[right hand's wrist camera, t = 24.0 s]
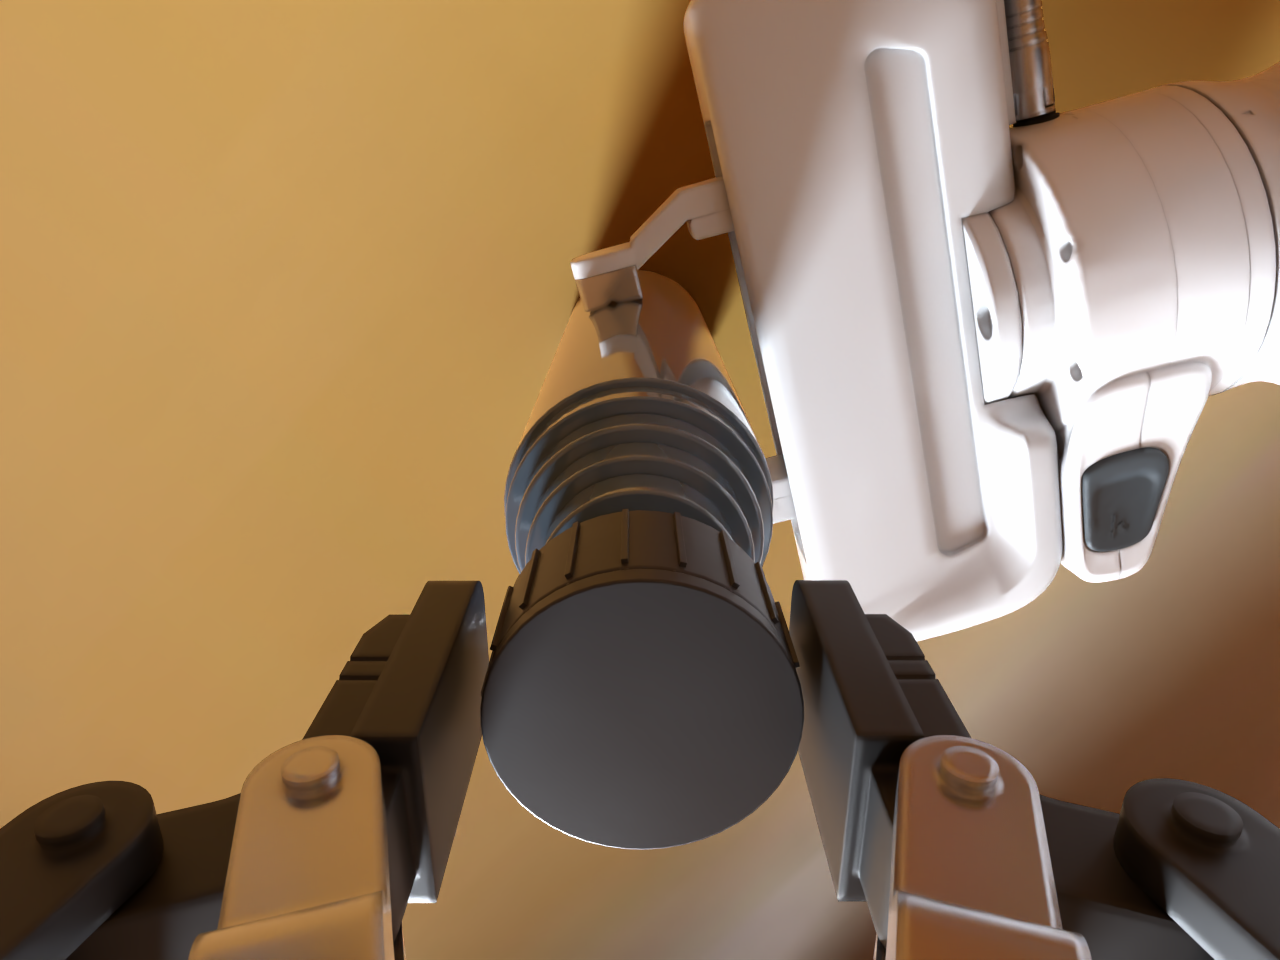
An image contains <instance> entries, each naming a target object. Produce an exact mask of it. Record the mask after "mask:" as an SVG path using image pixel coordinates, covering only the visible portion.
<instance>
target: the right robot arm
mask: <svg viewBox="0 0 1280 960" xmlns="http://www.w3.org/2000/svg"><path fill="white" fill-rule="evenodd" d="M789 633H790V637H791V640H792V643H793V646H794V649H795V652H796V655H797V658H798V661H799V664H800V667H797V668H796V671H797V674H798V677H799V680H800V684H801V689H802V694H803V700H804V724H803V731H802V737H801V741H800V744H799V747H798V752H799V756H800V760H801V763H802V767H803V771H804V775H805V778H806V782H807V786H808V790H809V793H810V797H811V801H812V805H813V808H814V812H815V816H816V820H817V823H818V827H819V831H820V835H821V838H822V842H823V846H824V850H825V853H826V857H827V861H828V865H829V868H830V872H831V876H832V880H833V883H834V887H835V891H836V895H837V899H838V901H867V904H868V908H869V911H870V914H871V918H872V921H873V924H874V927H875V930H876V933H877V935H876V942H875V949H874V960H1280V829H1279V828H1278V827H1276V826H1275V825H1274V824H1272V823H1271V822H1270V821H1268V820H1267V819H1266V818H1264V817H1263V816H1262V815H1260V814H1259V813H1258V812H1256V811H1255V810H1253V809H1252V808H1250V807H1249V806H1247V805H1246V804H1244V803H1242V802H1240V801H1239V800H1237V799H1235V798H1233V797H1231V796H1229V795H1227V794H1225V793H1223V792H1220V791H1218V790H1215V789H1213V788H1210V787H1207V786H1204V785H1201V784H1197V783H1194V782H1189V781H1184V780H1178V779H1168V778H1164V779H1150V780H1145V781H1142V782H1139V783H1137V784H1135V785H1134V786H1132V787H1131V788H1130V789H1129V790H1128V791H1127V792H1126V795H1125V797H1124V800H1123V804H1122V808H1121V812H1120V814H1117V813H1113V812H1108V811H1104V810H1099V809H1095V808H1090V807H1086V806H1081V805H1077V804H1072V803H1068V802H1063V801H1059V800H1056V799H1052V798H1048V797H1045V796H1042V795H1040V794H1039V790H1038V787H1037V784H1036V782H1035V780H1034V778H1033V776H1032V775H1031V774H1030V772H1029V771H1028V770H1027V769H1026V767H1024V766H1023V765H1022V764H1021V763H1020V762H1019V761H1018V760H1017V759H1015V758H1014V757H1012V756H1011V755H1010V754H1008V753H1006V752H1005V751H1003V750H1001V749H999V748H997V747H995V746H993V745H990V744H988V743H985V742H982V741H979V740H976V739H972V738H971V737H970V735H969V733H968V731H967V730H966V728H965V726H964V724H963V723H962V721H961V719H960V717H959V715H958V714H957V712H956V710H955V708H954V707H953V705H952V703H951V701H950V700H949V698H948V696H947V694H946V693H945V691H944V689H943V687H942V686H941V684H940V682H939V680H938V679H935V673H934V672H933V670H932V668H931V666H930V665H929V663H928V661H927V660H925V658H924V657H925V656H924V654H923V652H922V651H921V649H920V647H919V645H918V644H917V642H916V640H915V638H914V637H913V635H912V633H910V632H909V631H908V630H906V629H905V628H904V627H903V626H901V625H900V624H899V623H897V622H896V621H895V620H893V619H892V618H891V617H889V616H888V615H887V614H864V611H863V609H862V607H861V605H860V603H859V601H858V599H857V597H856V595H855V593H854V591H853V589H852V587H851V585H850V583H849V582H848V581H847V580H796V581H795V583H794V586H793V591H792V600H791V614H790V627H789ZM488 665H489V657H488V643H487V630H486V617H485V603H484V593H483V587H482V584H481V582H480V581H428V582H427V583H426V585H425V587H424V589H423V591H422V593H421V595H420V597H419V599H418V601H417V603H416V605H415V607H414V609H413V611H412V613H411V615H388V616H387V617H386V618H384V619H383V620H382V621H380V622H379V623H378V624H376V625H375V626H374V627H372V628H371V629H370V630H368V631H367V632H366V633H364V634H363V636H362V638H361V639H360V641H359V643H358V644H357V646H356V648H355V650H354V651H353V653H352V655H351V657H350V661H348V662H347V663H346V665H345V667H344V669H343V670H342V672H341V674H340V679H339V680H337V681H336V682H335V684H334V686H333V688H332V689H331V691H330V693H329V695H328V696H327V698H326V700H325V701H324V703H323V705H322V707H321V708H320V710H319V712H318V714H317V715H316V717H315V719H314V720H313V722H312V724H311V726H310V727H309V729H308V731H307V733H306V734H305V736H304V738H303V739H302V740H301V741H298V742H295V743H292V744H290V745H287V746H285V747H283V748H281V749H279V750H277V751H275V752H274V753H272V754H270V755H269V756H268V757H266V758H265V759H263V760H262V761H261V762H260V763H259V764H258V765H257V766H256V767H254V769H253V770H252V771H251V772H250V774H249V775H248V776H247V778H246V780H245V782H244V784H243V787H242V790H241V793H240V794H237V795H234V796H232V797H229V798H226V799H223V800H219V801H215V802H211V803H207V804H202V805H198V806H193V807H189V808H184V809H180V810H175V811H171V812H166V813H162V814H157V815H156V811H155V807H154V803H153V800H152V797H151V795H150V794H149V792H148V791H147V790H146V789H144V788H143V787H141V786H140V785H137V784H134V783H131V782H124V781H103V782H95V783H90V784H85V785H81V786H78V787H74V788H71V789H68V790H65V791H63V792H60V793H57V794H55V795H53V796H51V797H49V798H47V799H44V800H42V801H41V802H39V803H37V804H35V805H34V806H32V807H30V808H29V809H27V810H26V811H24V812H23V813H21V814H20V815H18V816H17V817H16V818H14V819H13V820H12V821H10V822H9V823H8V824H6V825H5V826H4V827H2V828H1V829H0V960H406V949H405V942H404V935H403V927H402V919H403V916H404V912H405V909H406V906H407V903H436V901H437V898H438V894H439V890H440V887H441V883H442V879H443V876H444V872H445V869H446V865H447V861H448V858H449V854H450V850H451V847H452V843H453V839H454V836H455V832H456V828H457V825H458V821H459V817H460V814H461V810H462V806H463V803H464V799H465V795H466V792H467V788H468V784H469V781H470V777H471V773H472V770H473V766H474V762H475V759H476V755H477V751H478V748H479V744H480V740H481V737H482V730H481V717H480V706H481V699H482V697H481V689H482V686H483V682H484V679H485V675H486V672H487V668H488Z"/></svg>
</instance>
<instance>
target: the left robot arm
mask: <svg viewBox="0 0 1280 960" xmlns="http://www.w3.org/2000/svg"><path fill="white" fill-rule="evenodd" d="M1041 6H1042V0H691V1H690V3H689V5H688V8H687V10H686V13H685V17H684V23H683V28H684V35H685V39H686V44H687V49H688V53H689V58H690V63H691V67H692V72H693V76H694V81H695V85H696V90H697V94H698V99H699V104H700V108H701V113H702V117H703V122H704V126H705V131H706V135H707V140H708V144H709V149H710V154H711V158H712V163H713V167H714V172H715V176H716V177H715V178H712V179H708V180H705V181H702V182H698V183H695V184H691V185H688V186H684V187H681V188H677V189H676V190H675V191H674V192H673V193H672V194H671V195H670V197H669V198H668V199H667V200H666V201H665V202H664V203H663V204H662V205H661V206H660V207H659V208H658V209H657V210H656V211H655V212H654V213H653V214H652V215H651V216H650V217H649V218H648V219H647V220H646V221H645V222H644V223H643V225H642V226H641V227H640V228H639V229H638V230H637V231H636V232H635V233H634V234H633V235H632V236H631V237H630V242H627V243H623V244H619V245H616V246H612V247H608V248H605V249H601V250H598V251H594V252H590V253H587V254H584V255H581V256H579V257H576V258H574V259H573V260H572V261H571V262H570V263H571V267H572V271H573V274H574V278H575V281H576V284H577V288H578V291H579V294H580V297H581V301H582V304H583V307H584V310H585V312H591V311H597V310H599V309H602V308H605V307H607V306H608V305H609V304H610V302H611V301H614V302H617V303H623V302H630V301H634V300H638V299H641V298H643V287H642V283H641V279H640V275H639V271H638V269H639V268H640V267H641V266H642V265H643V264H644V263H645V262H646V261H647V260H648V259H649V258H650V257H651V256H652V255H653V254H654V253H655V252H656V251H657V250H658V249H659V248H660V247H661V246H662V245H663V244H664V243H665V242H666V241H667V240H668V239H669V238H670V237H671V236H672V235H673V234H674V233H675V232H676V231H677V230H678V229H679V228H680V227H681V226H682V225H683V224H684V223H685V222H687V227H688V231H689V232H690V234H691V236H692V237H693V238H694V239H696V240H700V239H704V238H708V237H712V236H716V235H720V234H724V233H728V235H729V240H730V245H731V249H732V254H733V258H734V263H735V267H736V272H737V276H738V281H739V286H740V290H741V295H742V299H743V304H744V308H745V313H746V317H747V322H748V326H749V331H750V336H751V340H752V345H753V349H754V354H755V358H756V363H757V367H758V372H759V377H760V381H761V386H762V390H763V395H764V399H765V404H766V408H767V413H768V418H769V422H770V427H771V431H772V436H773V440H774V445H775V449H776V454H777V456H773V457H769V458H765V459H766V462H767V465H768V468H769V470H770V475H771V480H772V485H773V499H774V506H773V523H778V522H782V521H786V520H791V522H792V527H793V531H794V536H795V540H796V545H797V549H798V554H799V559H800V563H801V568H802V572H803V577H804V580H847V581H848V582H849V583H850V585H851V587H852V589H853V591H854V593H855V595H856V597H857V599H858V601H859V603H860V605H861V607H862V609H863V611H864V614H887V615H888V616H889V617H891V618H892V619H893V620H895V621H896V622H897V623H899V624H900V625H901V626H903V627H904V628H905V629H906V630H908V631H909V632H910V633H912V635H913V637H914V638H915V640H916V642H917V641H921V640H925V639H929V638H932V637H936V636H940V635H944V634H947V633H951V632H954V631H958V630H961V629H965V628H968V627H971V626H974V625H977V624H981V623H984V622H987V621H990V620H993V619H996V618H998V617H1001V616H1004V615H1006V614H1009V613H1011V612H1013V611H1016V610H1018V609H1020V608H1022V607H1023V606H1025V605H1027V604H1028V603H1030V602H1031V601H1033V600H1034V599H1036V598H1037V597H1038V596H1039V595H1040V594H1042V593H1043V592H1044V591H1045V590H1046V588H1047V587H1048V586H1049V585H1050V584H1051V582H1052V581H1053V579H1054V577H1055V576H1056V573H1057V571H1058V569H1059V565H1060V563H1061V564H1062V565H1063V566H1064V567H1066V568H1067V569H1069V570H1070V571H1071V572H1073V573H1074V574H1075V575H1077V576H1078V577H1080V578H1081V579H1083V580H1085V581H1087V582H1094V583H1095V582H1107V581H1112V580H1117V579H1121V578H1125V577H1128V576H1130V575H1132V574H1135V573H1136V572H1138V571H1139V570H1140V569H1141V568H1142V567H1143V566H1144V565H1145V564H1146V562H1147V561H1148V559H1149V557H1150V555H1151V553H1152V550H1153V547H1154V544H1155V541H1156V538H1157V534H1158V531H1159V527H1160V524H1161V521H1162V517H1163V514H1164V511H1165V507H1166V504H1167V501H1168V498H1169V494H1170V491H1171V488H1172V485H1173V482H1174V479H1175V476H1176V473H1177V471H1178V468H1179V465H1180V462H1181V460H1182V457H1183V454H1184V452H1185V449H1186V447H1187V444H1188V442H1189V439H1190V437H1191V434H1192V432H1193V430H1194V428H1195V425H1196V423H1197V421H1198V419H1199V417H1200V414H1201V412H1202V410H1203V408H1204V406H1205V403H1206V401H1207V398H1208V396H1211V395H1215V394H1218V393H1221V392H1224V391H1226V390H1229V389H1231V388H1233V387H1236V386H1239V385H1242V384H1245V383H1249V382H1255V381H1264V382H1271V383H1275V384H1278V385H1280V62H1278V63H1276V64H1275V65H1273V66H1271V67H1270V68H1268V69H1266V70H1264V71H1262V72H1260V73H1258V74H1255V75H1253V76H1250V77H1247V78H1243V79H1239V80H1234V81H1184V82H1177V83H1171V84H1165V85H1161V86H1158V87H1155V88H1152V89H1148V90H1144V91H1141V92H1137V93H1133V94H1130V95H1126V96H1123V97H1119V98H1116V99H1112V100H1108V101H1105V102H1101V103H1098V104H1094V105H1090V106H1087V107H1083V108H1079V109H1076V110H1072V111H1067V112H1063V113H1060V114H1059V113H1056V110H1055V97H1054V88H1053V78H1052V67H1051V56H1050V49H1049V42H1047V39H1048V38H1047V33H1046V31H1044V29H1045V24H1044V20H1042V17H1043V9H1041ZM1011 124H1013V127H1012V128H1009V125H1011Z"/></svg>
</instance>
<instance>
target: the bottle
mask: <svg viewBox="0 0 1280 960" xmlns="http://www.w3.org/2000/svg"><path fill="white" fill-rule="evenodd" d="M638 271H639V275H640V279H641V283H642V287H643V298H641V299H638V300H634V301H630V302H623V303H617V302H614V301H611V302H610V304H609V305H608V306H607V307H605V308H602V309H599V310H597V311H591V312H585V310H584V307H583V304H582V301H581V298H580V299H579V300H578V302H577V304H576V305H575V307H574V309H573V311H572V313H571V316H570V318H569V321H568V323H567V326H566V328H565V331H564V333H563V336H562V338H561V341H560V343H559V346H558V348H557V351H556V353H555V355H554V358H553V360H552V363H551V365H550V368H549V370H548V373H547V375H546V378H545V380H544V383H543V385H542V388H541V390H540V393H539V395H538V398H537V400H536V403H535V405H534V407H533V410H532V412H531V415H530V417H529V420H528V422H527V425H526V427H525V430H524V432H523V435H522V437H521V440H520V442H519V445H518V447H517V450H516V452H515V454H514V457H513V459H512V462H511V464H510V468H509V471H508V475H507V479H506V486H505V495H504V507H505V519H506V534H507V540H508V545H509V549H510V552H511V555H512V558H513V561H514V564H515V566H516V568H517V570H518V572H519V574H520V573H521V572H522V570H523V569H524V567H525V566H526V564H527V563H528V562H529V561H530V560H531V557H532V553H533V551H534V550H535V549H536V548H537V549H538V550H540V549H541V548H542V547H543V546H544V545H546V544H547V543H548V542H549V541H550V540H551V539H553V538H554V537H556V536H558V535H559V534H561V533H562V532H564V531H565V530H567V529H569V528H571V527H572V526H573V523H575V522H577V521H578V522H579V523H581V522H583V521H586V520H589V519H592V518H595V517H598V516H601V515H606V514H611V513H616V512H622V509H629V511H635V510H645V511H660V512H666V513H672V514H674V512H679V513H680V514H681V516H684V517H688V518H691V519H694V520H697V521H699V522H701V523H704V524H706V525H708V526H711V527H712V528H714V529H716V530H717V531H719V532H721V531H722V530H723V531H725V532H726V533H727V536H728V538H730V539H731V540H732V541H733V542H735V543H736V544H737V545H739V546H740V547H741V548H742V549H743V550H744V551H745V552H746V553H747V554H748V555H749V557H750V558H751V559H752V560H753V561H754V563H757V562H759V563H760V564H761V566H763V564H764V561H765V558H766V556H767V553H768V550H769V546H770V541H771V537H772V527H773V506H774V499H773V485H772V480H771V475H770V470H769V468H768V465H767V462H766V459H765V456H764V454H763V452H762V449H761V447H760V445H759V442H758V440H757V438H756V436H755V433H754V431H753V429H752V427H751V424H750V422H749V420H748V418H747V415H746V413H745V411H744V409H743V406H742V404H741V402H740V399H739V397H738V395H737V393H736V390H735V388H734V386H733V384H732V381H731V379H730V377H729V375H728V372H727V370H726V368H725V366H724V363H723V361H722V359H721V356H720V354H719V352H718V350H717V347H716V345H715V343H714V341H713V338H712V336H711V334H710V332H709V329H708V327H707V325H706V323H705V320H704V318H703V316H702V313H701V311H700V309H699V307H698V306H697V304H696V302H695V301H694V299H693V298H692V296H691V295H690V294H689V293H688V292H687V291H686V290H685V289H684V288H683V287H682V286H680V285H679V284H678V283H677V282H675V281H673V280H672V279H670V278H668V277H666V276H664V275H661V274H658V273H655V272H651V271H645V270H638Z"/></svg>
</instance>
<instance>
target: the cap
mask: <svg viewBox="0 0 1280 960" xmlns="http://www.w3.org/2000/svg"><path fill="white" fill-rule="evenodd" d="M490 650H493V651H492V654H491V658H490V661H489V665H488V668H487V672H486V675H485V679H484V682H483V686H482V689H481V697H482V699H481V706H480V717H481V730H482V736H483V741H484V745H485V748H486V751H487V754H488V757H489V759H490V762H491V764H492V766H493V768H494V769H495V771H496V773H497V775H498V777H499V778H500V780H501V781H502V783H503V784H504V785H505V787H506V788H507V790H508V791H509V792H510V793H511V794H512V795H513V796H514V798H515V799H516V800H517V801H518V802H519V803H520V804H521V805H522V806H523V807H525V808H526V809H527V810H528V811H529V812H531V813H532V814H533V815H534V816H535V817H537V818H539V819H540V820H542V821H543V822H545V823H546V824H548V825H550V826H551V827H553V828H555V829H557V830H559V831H561V832H563V833H565V834H567V835H570V836H572V837H575V838H578V839H581V840H584V841H586V842H590V843H594V844H599V845H603V846H608V847H615V848H622V849H659V848H668V847H674V846H680V845H685V844H688V843H692V842H695V841H699V840H702V839H705V838H708V837H710V836H712V835H715V834H717V833H720V832H722V831H724V830H726V829H728V828H729V827H731V826H733V825H735V824H737V823H738V822H740V821H741V820H743V819H744V818H746V817H747V816H748V815H750V814H751V813H753V812H754V811H755V810H756V809H757V808H758V807H759V806H761V805H762V804H763V803H764V802H765V801H766V800H767V799H768V798H769V797H770V796H771V795H772V793H773V792H774V791H775V790H776V789H777V788H778V786H779V785H780V783H781V782H782V780H783V779H784V777H785V776H786V774H787V773H788V771H789V769H790V767H791V765H792V763H793V761H794V759H795V756H796V754H797V751H798V747H799V744H800V741H801V737H802V731H803V724H804V700H803V694H802V689H801V684H800V680H799V677H798V674H797V671H796V668H797V667H800V664H799V661H798V658H797V655H796V652H795V649H794V646H793V643H792V640H791V637H790V633H789V630H788V627H787V624H786V621H785V618H784V615H783V612H782V609H781V606H780V603H779V602H774V599H773V596H772V593H771V590H770V587H769V586H768V584H767V582H766V579H765V575H764V572H763V569H762V566H761V564H760V563H759V562H757V563H754V561H753V560H752V559H751V558H750V557H749V555H748V554H747V553H746V552H745V551H744V550H743V549H742V548H741V547H740V546H739V545H737V544H736V543H735V542H733V541H732V540H731V539H730V538H728V536H727V533H726V532H725V531H723V530H722V531H721V532H719V531H717V530H716V529H714V528H712V527H711V526H708V525H706V524H704V523H701V522H699V521H697V520H694V519H691V518H688V517H684V516H681V514H680V513H679V512H674V514H672V513H666V512H660V511H645V510H635V511H629V509H622V512H616V513H611V514H606V515H601V516H598V517H595V518H592V519H589V520H586V521H583V522H581V523H579V522H578V521H577V522H575V523H573V526H572V527H571V528H569V529H567V530H565V531H564V532H562V533H561V534H559V535H558V536H556V537H554V538H553V539H551V540H550V541H549V542H548V543H547V544H546V545H544V546H543V547H542V548H541V549H540V550H538V549H537V548H536V549H535V550H534V551H533V553H532V557H531V560H530V561H529V562H528V563H527V564H526V566H525V567H524V569H523V570H522V572H521V573H520V575H519V576H518V578H517V580H516V582H515V584H514V587H511V586H509V587H508V590H507V593H506V596H505V600H504V603H503V606H502V610H501V613H500V617H499V620H498V623H497V627H496V630H495V634H494V637H493V640H492V644H491V647H490Z"/></svg>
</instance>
